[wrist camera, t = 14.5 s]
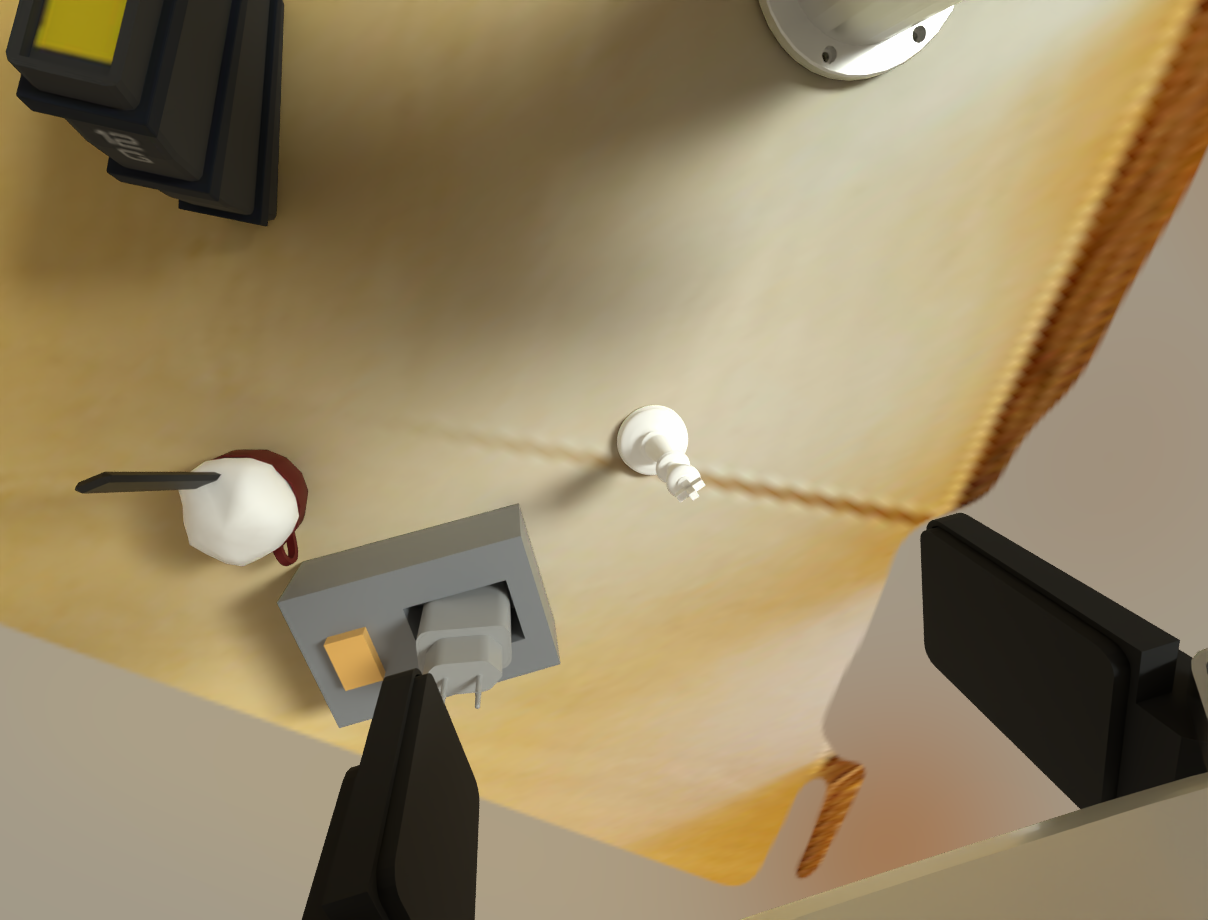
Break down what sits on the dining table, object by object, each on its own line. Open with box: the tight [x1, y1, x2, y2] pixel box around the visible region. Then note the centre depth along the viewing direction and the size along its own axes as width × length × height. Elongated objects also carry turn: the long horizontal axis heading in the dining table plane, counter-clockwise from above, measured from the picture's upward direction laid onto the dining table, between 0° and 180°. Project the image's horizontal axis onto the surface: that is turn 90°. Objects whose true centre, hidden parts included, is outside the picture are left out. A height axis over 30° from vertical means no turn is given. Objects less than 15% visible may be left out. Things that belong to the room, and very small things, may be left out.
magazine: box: [6, 0, 284, 226], centre depth 27 cm, size 4×13×15 cm, turn 169°
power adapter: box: [416, 580, 512, 709], centre depth 37 cm, size 3×5×12 cm, turn 90°
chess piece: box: [617, 405, 706, 502], centre depth 38 cm, size 5×5×10 cm
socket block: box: [277, 504, 560, 728], centre depth 41 cm, size 15×10×6 cm, turn 103°
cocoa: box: [75, 450, 308, 566], centre depth 33 cm, size 10×6×12 cm
